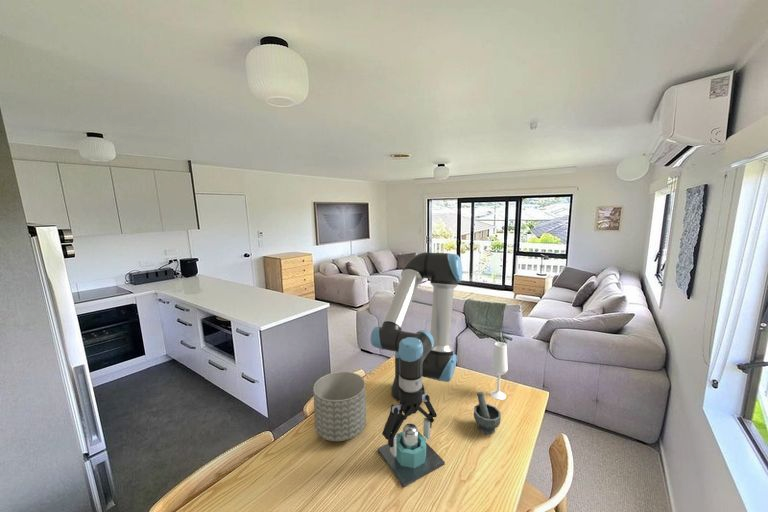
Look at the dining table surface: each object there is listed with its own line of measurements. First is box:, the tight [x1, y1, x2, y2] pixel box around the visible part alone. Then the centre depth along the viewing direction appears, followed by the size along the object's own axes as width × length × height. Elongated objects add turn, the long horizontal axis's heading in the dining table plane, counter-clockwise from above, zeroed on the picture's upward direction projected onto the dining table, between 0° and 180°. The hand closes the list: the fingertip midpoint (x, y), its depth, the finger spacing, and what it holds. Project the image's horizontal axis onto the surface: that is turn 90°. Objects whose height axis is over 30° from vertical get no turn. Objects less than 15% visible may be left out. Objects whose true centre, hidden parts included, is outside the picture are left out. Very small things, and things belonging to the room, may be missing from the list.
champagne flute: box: [490, 341, 509, 401], centre depth 130 cm, size 7×7×24 cm
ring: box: [395, 430, 427, 468], centre depth 97 cm, size 10×10×5 cm
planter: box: [313, 371, 367, 442], centre depth 110 cm, size 19×19×18 cm
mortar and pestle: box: [473, 391, 502, 435], centre depth 111 cm, size 11×9×12 cm
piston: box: [377, 423, 446, 488], centre depth 97 cm, size 16×16×11 cm
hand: (410, 445), depth 98 cm, fingers open, 13 cm apart
